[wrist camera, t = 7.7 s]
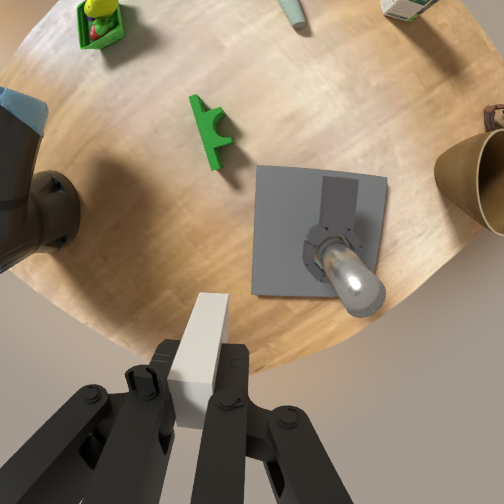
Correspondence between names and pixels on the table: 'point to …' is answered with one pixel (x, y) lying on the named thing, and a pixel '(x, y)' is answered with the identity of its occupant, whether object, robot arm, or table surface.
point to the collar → (333, 221)
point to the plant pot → (476, 178)
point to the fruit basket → (99, 23)
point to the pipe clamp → (209, 130)
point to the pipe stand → (304, 227)
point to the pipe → (350, 277)
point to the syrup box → (405, 8)
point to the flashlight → (293, 12)
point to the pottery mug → (491, 116)
